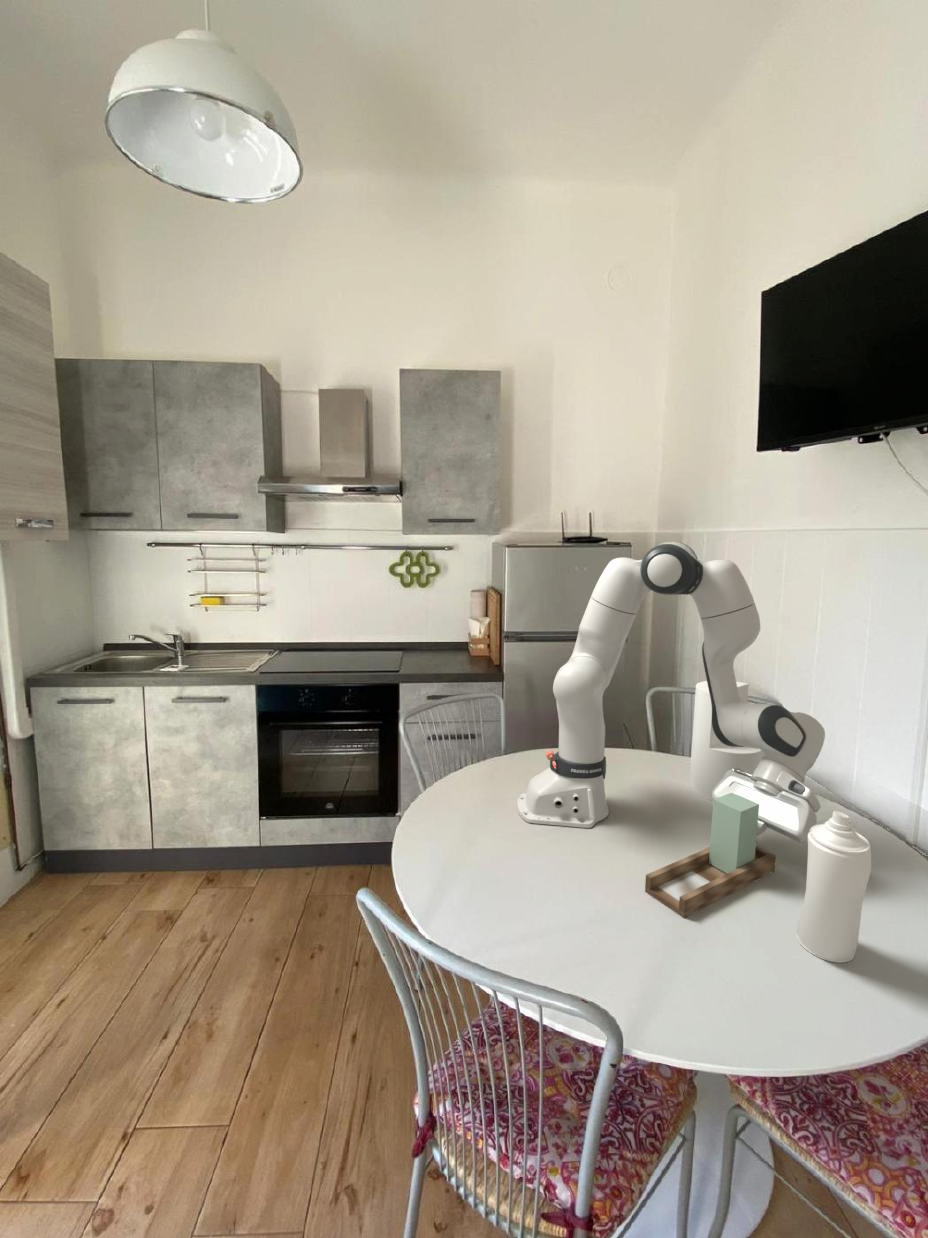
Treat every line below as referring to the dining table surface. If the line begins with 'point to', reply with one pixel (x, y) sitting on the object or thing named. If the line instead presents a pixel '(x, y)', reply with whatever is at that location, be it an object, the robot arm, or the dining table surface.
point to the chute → (703, 881)
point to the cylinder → (715, 747)
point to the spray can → (834, 889)
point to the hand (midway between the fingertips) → (743, 838)
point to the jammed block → (733, 832)
